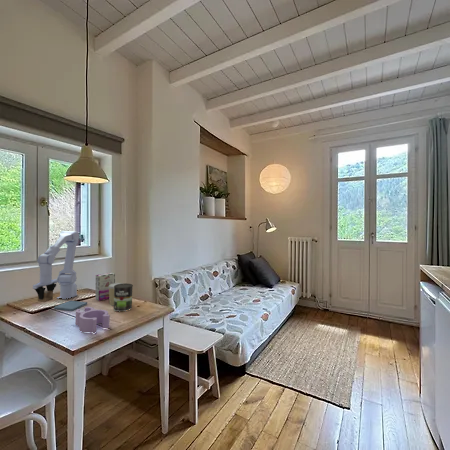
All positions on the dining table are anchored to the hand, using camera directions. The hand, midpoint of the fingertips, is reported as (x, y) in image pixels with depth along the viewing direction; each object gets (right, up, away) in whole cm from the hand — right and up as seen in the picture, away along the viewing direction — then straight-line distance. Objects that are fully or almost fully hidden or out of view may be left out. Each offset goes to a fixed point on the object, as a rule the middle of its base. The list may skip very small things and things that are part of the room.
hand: (45, 297), depth 148 cm
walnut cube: (0, -2, 0) cm, 2 cm away
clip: (+38, -8, -22) cm, 45 cm away
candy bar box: (+25, -7, +21) cm, 33 cm away
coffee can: (+44, -8, +3) cm, 45 cm away
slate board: (+13, -6, +4) cm, 15 cm away
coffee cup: (+36, -7, +12) cm, 39 cm away
